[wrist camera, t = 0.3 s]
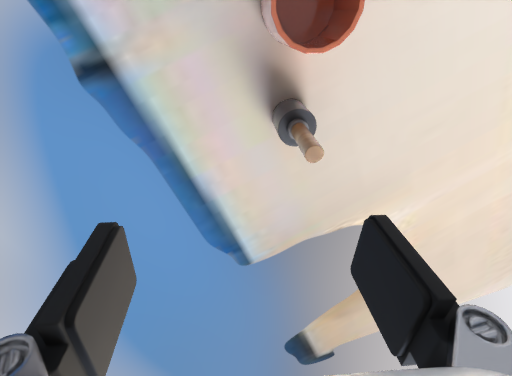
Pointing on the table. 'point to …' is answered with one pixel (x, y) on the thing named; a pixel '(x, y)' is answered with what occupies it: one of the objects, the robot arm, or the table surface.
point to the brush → (297, 128)
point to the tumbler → (311, 22)
